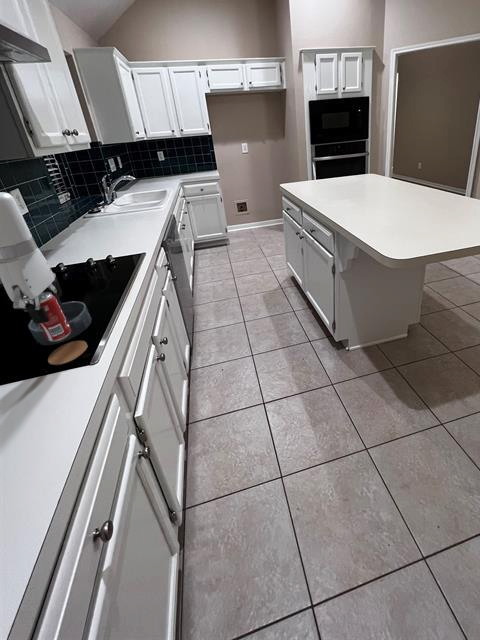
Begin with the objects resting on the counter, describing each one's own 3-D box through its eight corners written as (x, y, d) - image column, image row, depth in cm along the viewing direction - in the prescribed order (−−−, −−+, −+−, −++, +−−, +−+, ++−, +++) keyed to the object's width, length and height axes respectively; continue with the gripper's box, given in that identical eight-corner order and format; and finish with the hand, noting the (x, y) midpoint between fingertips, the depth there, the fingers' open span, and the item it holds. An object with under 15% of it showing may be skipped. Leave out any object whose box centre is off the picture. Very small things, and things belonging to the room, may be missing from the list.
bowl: (30, 353, 85) (21, 337, 83) (44, 324, 97) (36, 309, 95) (88, 336, 89) (81, 321, 87) (95, 311, 101) (88, 296, 99)
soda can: (52, 332, 83) (32, 293, 78) (74, 327, 84) (56, 289, 79) (45, 344, 78) (23, 305, 73) (68, 339, 80) (48, 299, 74)
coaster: (41, 368, 79) (40, 367, 79) (59, 344, 87) (59, 343, 87) (78, 362, 80) (77, 361, 80) (93, 339, 88) (92, 338, 88)
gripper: (21, 237, 78) (52, 298, 86) (-33, 268, 63) (10, 340, 70) (53, 233, 78) (80, 294, 86) (7, 263, 63) (46, 334, 71)
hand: (49, 314), depth 78 cm, fingers closed on soda can, 5 cm apart
